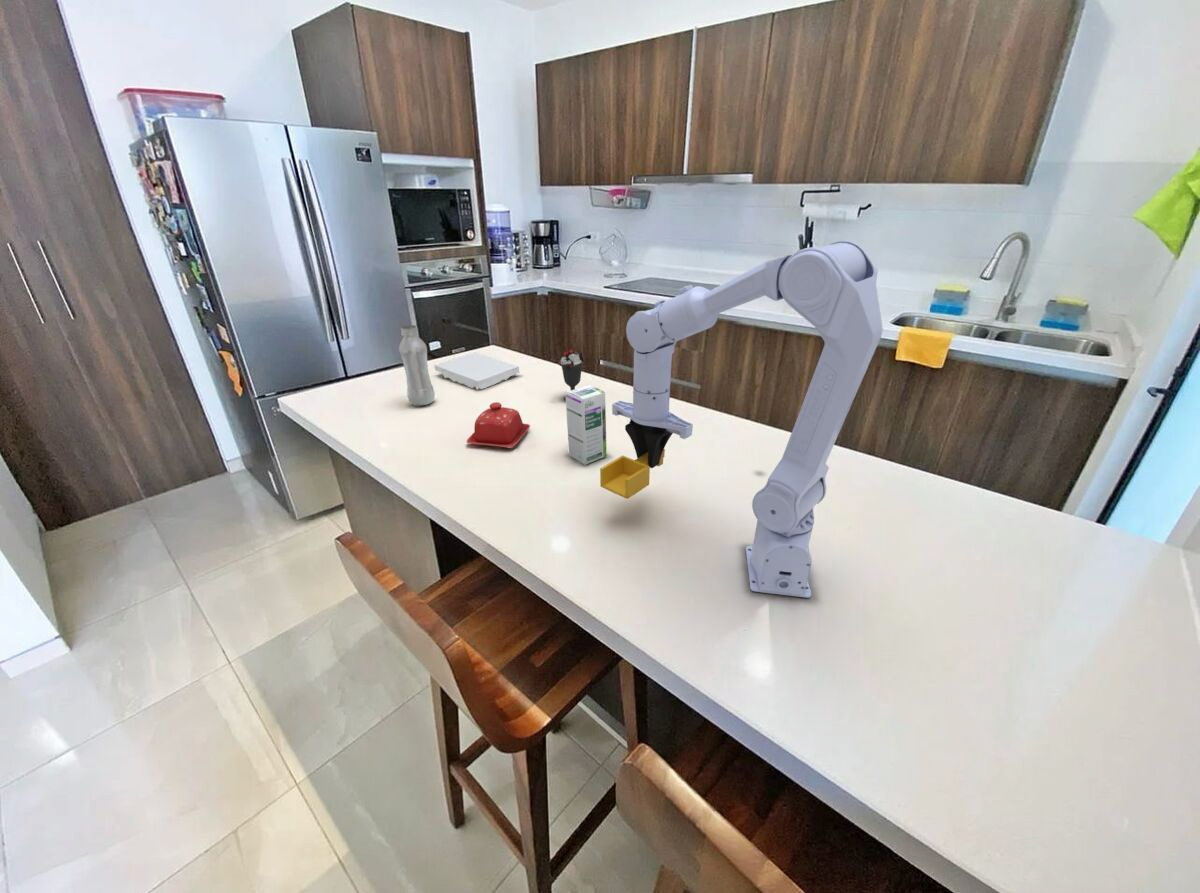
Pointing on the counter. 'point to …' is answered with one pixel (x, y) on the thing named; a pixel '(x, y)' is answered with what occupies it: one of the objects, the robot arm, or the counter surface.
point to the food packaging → (477, 370)
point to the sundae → (571, 367)
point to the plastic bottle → (416, 367)
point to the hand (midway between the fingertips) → (648, 463)
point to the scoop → (627, 475)
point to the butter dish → (498, 427)
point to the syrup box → (586, 423)
